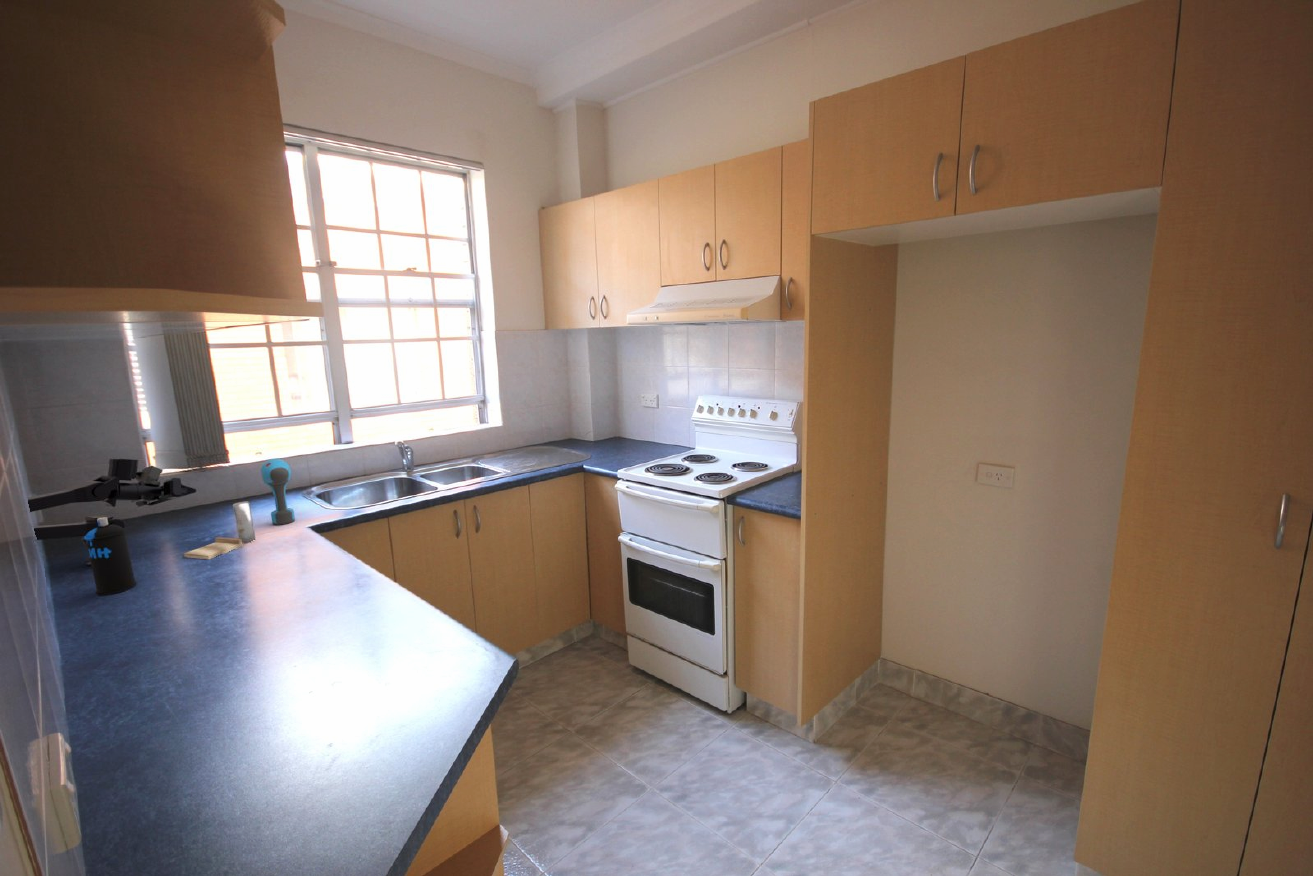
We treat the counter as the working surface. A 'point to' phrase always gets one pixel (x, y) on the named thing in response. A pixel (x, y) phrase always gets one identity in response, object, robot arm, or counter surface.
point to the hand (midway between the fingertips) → (186, 493)
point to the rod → (244, 521)
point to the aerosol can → (110, 558)
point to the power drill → (278, 489)
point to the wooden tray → (215, 548)
